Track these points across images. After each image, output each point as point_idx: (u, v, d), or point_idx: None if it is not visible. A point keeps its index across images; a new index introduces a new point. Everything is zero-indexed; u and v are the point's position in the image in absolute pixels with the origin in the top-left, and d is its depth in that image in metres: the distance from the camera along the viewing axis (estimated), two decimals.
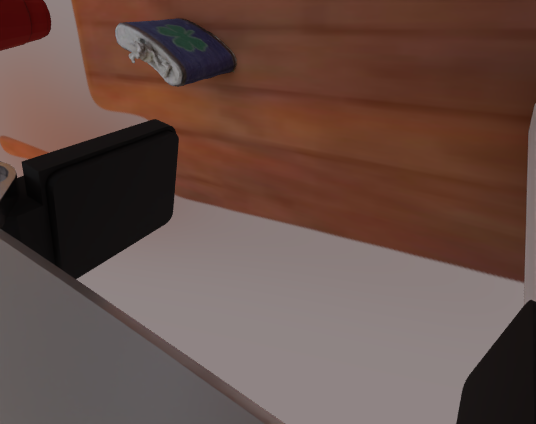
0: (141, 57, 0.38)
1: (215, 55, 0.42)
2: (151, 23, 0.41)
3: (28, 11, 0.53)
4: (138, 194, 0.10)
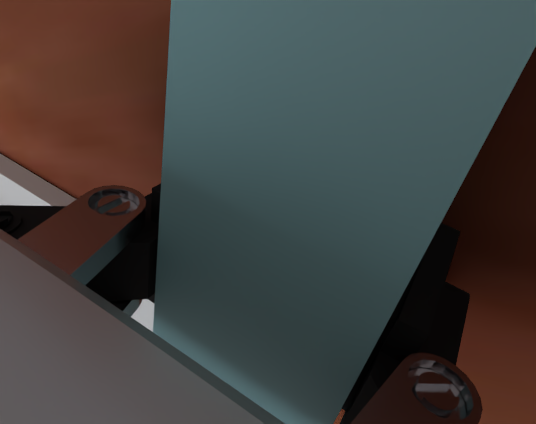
0: None
1: None
2: None
3: None
4: None
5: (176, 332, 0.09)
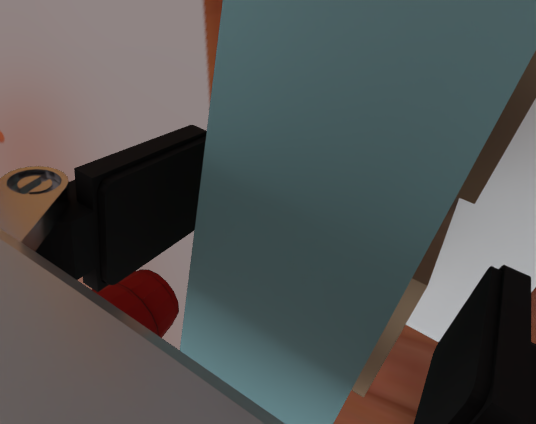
0: None
1: None
2: None
3: (156, 324, 0.34)
4: (177, 199, 0.11)
5: (208, 303, 0.10)
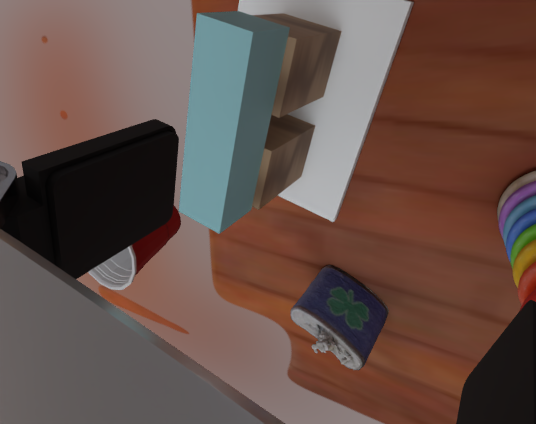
0: None
1: (376, 319, 0.45)
2: (320, 295, 0.44)
3: (167, 226, 0.56)
4: (138, 194, 0.10)
5: (191, 146, 0.32)
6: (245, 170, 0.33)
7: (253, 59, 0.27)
